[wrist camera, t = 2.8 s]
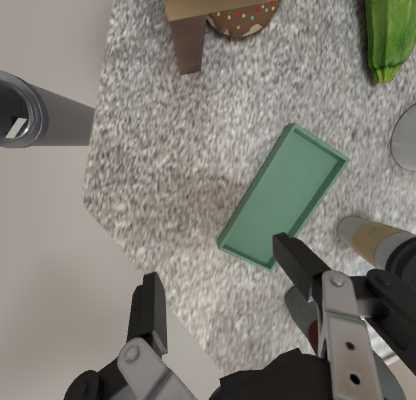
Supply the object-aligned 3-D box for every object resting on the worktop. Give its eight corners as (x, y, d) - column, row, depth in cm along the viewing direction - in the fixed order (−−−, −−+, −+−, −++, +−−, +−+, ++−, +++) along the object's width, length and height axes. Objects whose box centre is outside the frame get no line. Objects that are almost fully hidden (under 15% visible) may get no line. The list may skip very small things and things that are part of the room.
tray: (266, 264, 44) (271, 272, 41) (216, 241, 41) (218, 248, 39) (339, 158, 38) (350, 159, 36) (287, 124, 36) (295, 122, 33)
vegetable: (458, -135, 21) (437, 67, 27) (420, -79, 27) (410, 76, 33) (374, -87, 24) (372, 85, 30) (357, -46, 31) (358, 91, 37)
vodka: (282, 313, 48) (414, 561, 20) (283, 283, 46) (437, 517, 17) (318, 309, 49) (498, 543, 20) (321, 279, 46) (532, 498, 17)
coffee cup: (358, 200, 41) (447, 229, 27) (375, 230, 44) (465, 272, 29) (321, 226, 42) (387, 268, 28) (340, 254, 45) (410, 306, 30)
